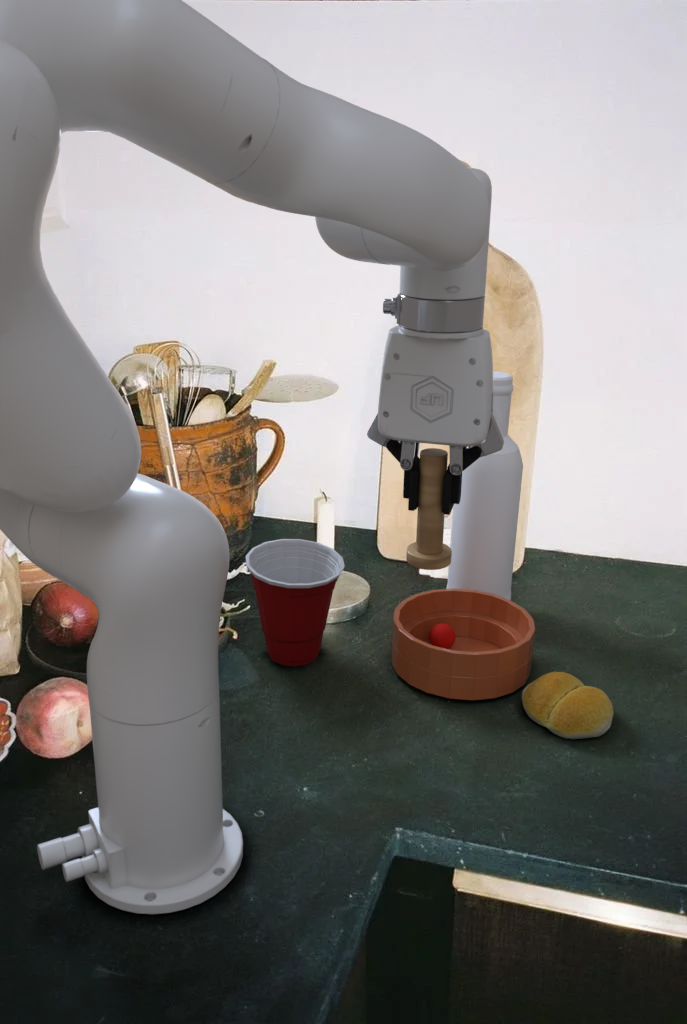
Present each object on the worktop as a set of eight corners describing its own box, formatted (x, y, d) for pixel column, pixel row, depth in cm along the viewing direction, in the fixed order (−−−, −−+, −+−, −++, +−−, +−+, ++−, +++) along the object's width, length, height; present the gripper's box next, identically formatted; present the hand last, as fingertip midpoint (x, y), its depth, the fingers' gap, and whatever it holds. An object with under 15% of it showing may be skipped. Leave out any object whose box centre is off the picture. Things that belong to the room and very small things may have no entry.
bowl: (444, 719, 94) (447, 667, 92) (366, 652, 107) (367, 605, 104) (558, 682, 102) (564, 633, 99) (473, 623, 114) (476, 579, 112)
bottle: (520, 621, 114) (545, 380, 104) (461, 630, 112) (481, 384, 101) (490, 593, 122) (511, 365, 111) (435, 601, 119) (450, 368, 108)
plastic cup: (286, 690, 99) (286, 588, 94) (227, 650, 106) (225, 554, 102) (362, 658, 105) (365, 560, 101) (301, 622, 113) (302, 530, 109)
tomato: (438, 657, 105) (439, 633, 104) (423, 645, 107) (424, 622, 106) (459, 651, 106) (461, 627, 105) (444, 639, 109) (446, 616, 108)
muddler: (422, 573, 89) (427, 462, 85) (397, 556, 93) (401, 449, 89) (460, 564, 91) (466, 455, 87) (434, 548, 95) (439, 442, 91)
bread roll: (580, 753, 90) (585, 717, 88) (508, 712, 96) (511, 678, 94) (630, 722, 95) (635, 688, 93) (558, 685, 101) (562, 652, 99)
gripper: (341, 316, 82) (339, 512, 89) (529, 328, 78) (512, 532, 85) (363, 303, 88) (359, 486, 95) (537, 313, 84) (520, 503, 91)
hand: (431, 506), depth 90 cm, fingers closed on muddler, 2 cm apart
